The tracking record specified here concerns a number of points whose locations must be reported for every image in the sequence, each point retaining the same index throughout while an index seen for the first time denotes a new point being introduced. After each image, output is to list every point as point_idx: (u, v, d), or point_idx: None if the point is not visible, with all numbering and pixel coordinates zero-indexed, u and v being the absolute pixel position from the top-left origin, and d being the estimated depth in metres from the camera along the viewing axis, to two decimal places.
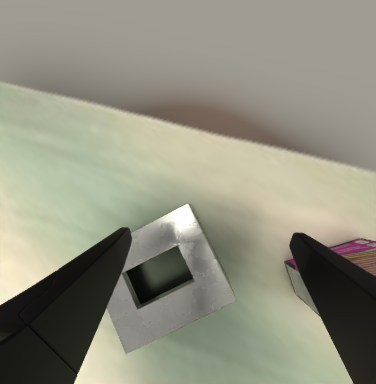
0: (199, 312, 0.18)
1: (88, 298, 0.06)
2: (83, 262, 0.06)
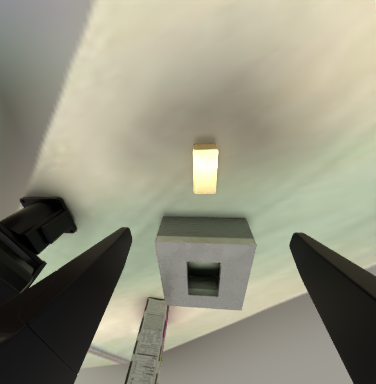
0: (166, 289, 0.24)
1: (88, 298, 0.06)
2: (83, 262, 0.06)
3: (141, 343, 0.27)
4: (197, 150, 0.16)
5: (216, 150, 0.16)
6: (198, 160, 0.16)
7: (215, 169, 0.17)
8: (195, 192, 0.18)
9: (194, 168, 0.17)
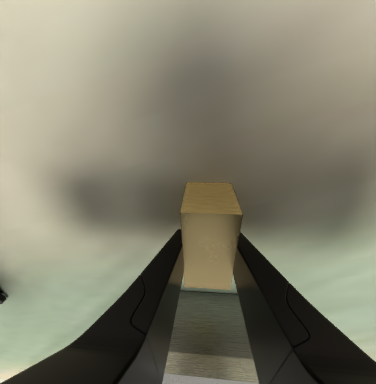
0: None
1: (170, 304, 0.06)
2: (162, 266, 0.06)
3: None
4: (191, 214, 0.07)
5: (238, 216, 0.06)
6: (193, 233, 0.07)
7: (232, 251, 0.07)
8: (188, 285, 0.09)
9: (184, 247, 0.07)
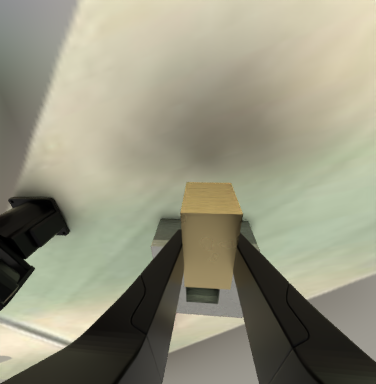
0: None
1: (170, 304, 0.06)
2: (162, 266, 0.06)
3: None
4: (191, 213, 0.07)
5: (238, 215, 0.06)
6: (193, 232, 0.07)
7: (233, 251, 0.07)
8: (188, 285, 0.09)
9: (185, 247, 0.07)
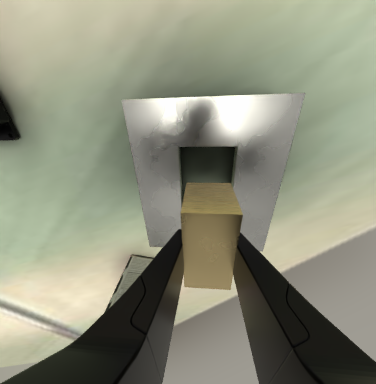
0: (149, 214, 0.15)
1: (170, 304, 0.06)
2: (162, 266, 0.06)
3: None
4: (191, 214, 0.07)
5: (238, 216, 0.06)
6: (193, 232, 0.07)
7: (233, 251, 0.07)
8: (188, 285, 0.09)
9: (185, 247, 0.07)
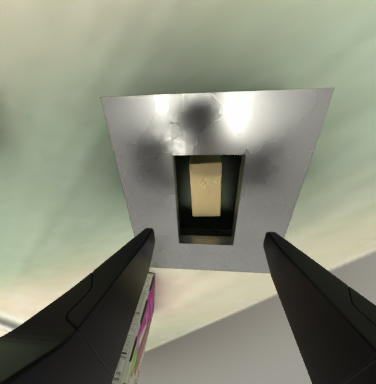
0: (139, 232, 0.13)
1: (123, 300, 0.06)
2: (117, 264, 0.06)
3: None
4: (194, 164, 0.12)
5: (219, 163, 0.12)
6: (196, 176, 0.13)
7: (218, 187, 0.13)
8: (194, 215, 0.15)
9: (192, 186, 0.13)
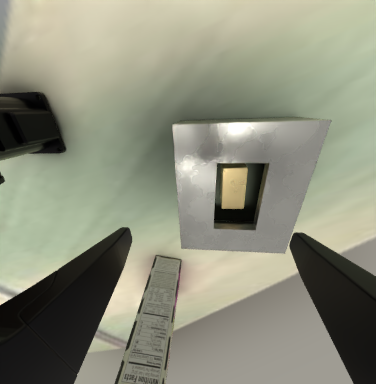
0: (184, 220, 0.17)
1: (88, 298, 0.06)
2: (83, 262, 0.06)
3: (148, 302, 0.21)
4: (227, 169, 0.17)
5: (246, 168, 0.16)
6: (227, 177, 0.17)
7: (244, 186, 0.17)
8: (223, 207, 0.19)
9: (223, 185, 0.17)
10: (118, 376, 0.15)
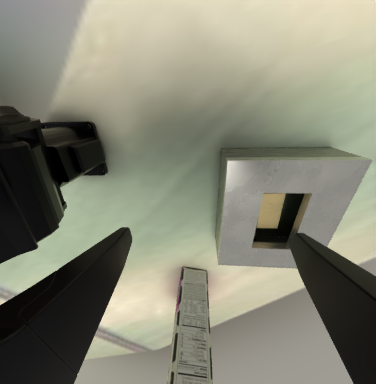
0: (225, 240, 0.19)
1: (88, 298, 0.06)
2: (83, 262, 0.06)
3: (185, 314, 0.22)
4: (266, 194, 0.18)
5: (284, 194, 0.18)
6: (266, 201, 0.18)
7: (280, 208, 0.19)
8: (258, 227, 0.20)
9: (261, 208, 0.19)
10: None
